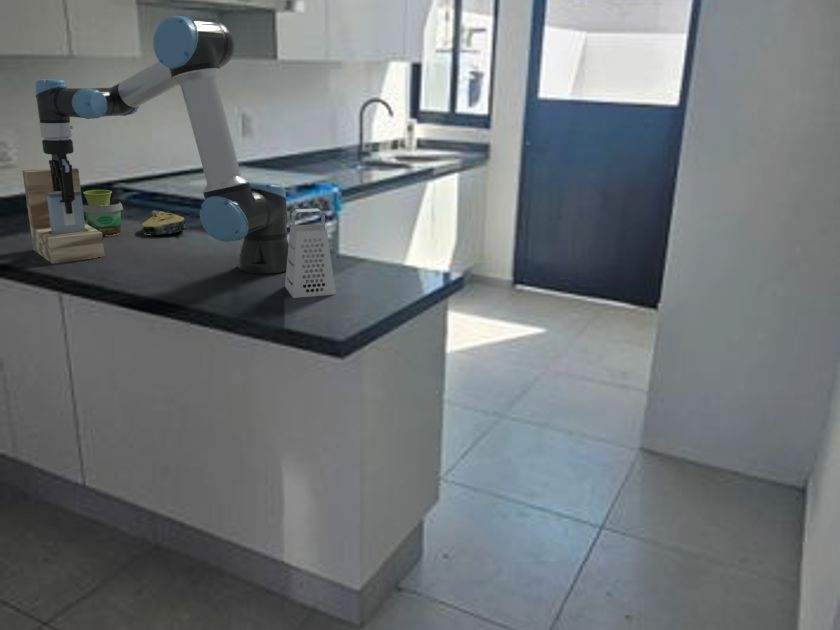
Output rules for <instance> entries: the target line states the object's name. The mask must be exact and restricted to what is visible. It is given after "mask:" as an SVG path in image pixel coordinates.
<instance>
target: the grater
mask: <svg viewBox="0 0 840 630" xmlns="http://www.w3.org/2000/svg"><path fill="white" fill-rule="evenodd" d="M311 212H320V213H321V221H320V222H321V223H317V224H316V223H314V224H297V225H296V224H295V221H296V220H295V219H296V216H297V215H298V213H311ZM288 236H289V237H288V242H289V246H288V257H287V268H286V271H285V279H284V280H285V283H284V287H285V288H286V290H287V291H288V293H289V294H290V296H291V297H292V298H293V299H296V298H310V297H321V296H333V295H334V296H335V295H336V294H337V293H336V292H337V291H336V285H335V277H334V270H333V265H332V257H331V250H330V243H329V235H328V229H326V215H325V214H324V213H323V211H322V210H320V209H319V208H317V207H316V208H300V209H296V208H295V209H293V211H292V212H291V225H290V226H289V235H288ZM323 284H324V285H323ZM308 285H310V287H309V286H308ZM313 285H315V286H313ZM318 285H319V286H318ZM304 286H305V287H304ZM312 289H313V291H311V290H312ZM317 289H318V291H317ZM321 289H323V290H321ZM307 290H309V291H307Z"/></svg>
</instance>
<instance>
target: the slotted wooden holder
mask: <svg viewBox="0 0 840 630" xmlns="http://www.w3.org/2000/svg"><path fill="white" fill-rule="evenodd" d="M21 172H22V177H23V185H24V191H25V192H24V193H25V199H26V208H27V213H28V214H27V215H28V219H29V220H28V221H29V228H30V235H31V236H30V237H31V241H32V248H33V249H32V250H33V251H35V252H36V253H37V254H38V255H40V256H41V257H43V259H45V260H46V261H48V262H49V263H51V264H52V265H54V264H61V263H68V262H78V261H84V260H92V258H93V259H99V258H98V257H100V258H106V256H105V247H104V246H105V245H104V237H103V236H102V232H100V231H98V230H96V229H94V228H93V227H91V226H89V225H88V224H87V223H86V222H85V221H86V220H84V224H85V232H77V233H68V234H59V235H52V233H51V225H50V217H49V210H48V202H47V194H46V192H54V191H53V184H52V177H51V169H50V168H41V169H40V168H39V169H23V170H22V171H21ZM72 178H73V187H74V190H78V191H80V192H81V193H82V188H81V181H80V172H79V168H77V167H75V166H74V167H73V166H72ZM82 197H83V196H82V194H81V198H82ZM82 199H83V198H82ZM82 206H83V207H84V204H83V203H82ZM83 215H84V216H85V212H83Z"/></svg>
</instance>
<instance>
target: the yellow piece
mask: <svg viewBox="0 0 840 630" xmlns="http://www.w3.org/2000/svg"><path fill="white" fill-rule="evenodd" d="M151 215H152V216H151V217H150V218H147V220H145V221H143V222H142V223H141V226H142V231H143V230H144V231H143V234H144V233H145V234H144V236H147V235H146V234H151V235H157V236H161V235H166V234H167V235H168V234H170V235H171V234H173V233H178V232H181V231H186V230H188V228H187V224H188V223H187V224H186V221H185V217H183V216H180V215H178V214H176V213H172V212H165V211H161V210H152V211H151Z"/></svg>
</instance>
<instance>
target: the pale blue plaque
mask: <svg viewBox="0 0 840 630" xmlns="http://www.w3.org/2000/svg"><path fill="white" fill-rule="evenodd" d="M46 194H47V202H48V210H49V217H50V225H51V233H52V235H59V234H68V233H77V232H85V224H86V223H85V224H84V221H85V214H84V215H83V207H84V205H83V206H82V204H83V198H81V195H82V191H81V192H80V191H78V190H74V197H75V200H73V209H74V218H75V225H66V226H65V225H64V218H63V210H62V203H60V200H62V194H61V191H54V192H46Z"/></svg>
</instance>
